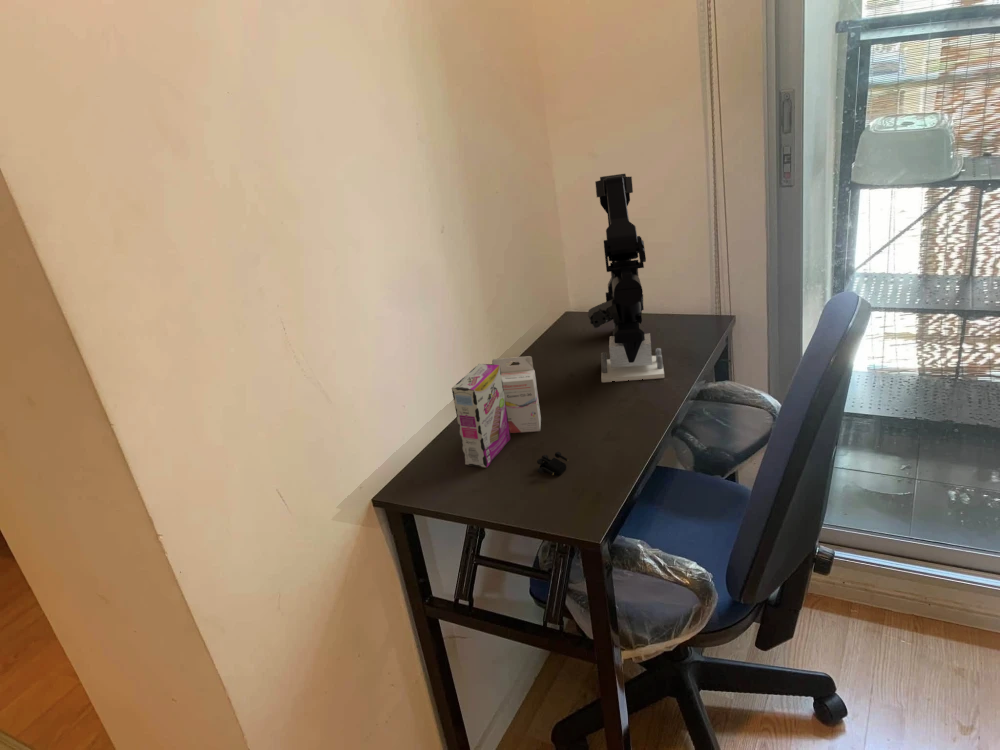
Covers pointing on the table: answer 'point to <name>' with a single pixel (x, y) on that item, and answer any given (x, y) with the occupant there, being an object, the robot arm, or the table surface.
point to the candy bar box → (481, 414)
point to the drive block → (620, 357)
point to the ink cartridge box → (520, 394)
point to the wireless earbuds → (552, 465)
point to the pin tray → (632, 370)
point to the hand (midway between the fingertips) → (631, 356)
